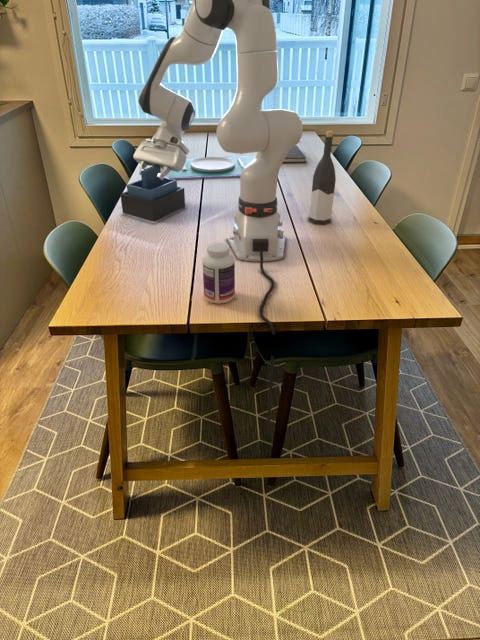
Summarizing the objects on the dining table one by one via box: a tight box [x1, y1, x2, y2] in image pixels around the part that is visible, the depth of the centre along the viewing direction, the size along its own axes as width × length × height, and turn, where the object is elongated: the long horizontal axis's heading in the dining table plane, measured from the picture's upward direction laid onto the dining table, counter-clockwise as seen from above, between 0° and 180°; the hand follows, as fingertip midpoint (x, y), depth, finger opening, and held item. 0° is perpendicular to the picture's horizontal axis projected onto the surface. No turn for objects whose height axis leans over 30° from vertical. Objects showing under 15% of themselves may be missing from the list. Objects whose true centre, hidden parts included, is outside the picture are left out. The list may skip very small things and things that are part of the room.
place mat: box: [164, 155, 256, 181], centre depth 217 cm, size 45×30×2 cm
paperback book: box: [282, 145, 307, 164], centre depth 234 cm, size 16×23×2 cm
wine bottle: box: [308, 130, 337, 225], centre depth 159 cm, size 8×8×30 cm
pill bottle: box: [201, 241, 236, 304], centre depth 119 cm, size 8×8×14 cm
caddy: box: [126, 165, 178, 201], centre depth 167 cm, size 14×11×15 cm
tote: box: [119, 185, 186, 223], centre depth 170 cm, size 18×15×8 cm
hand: (150, 177), depth 164 cm, fingers open, 7 cm apart
